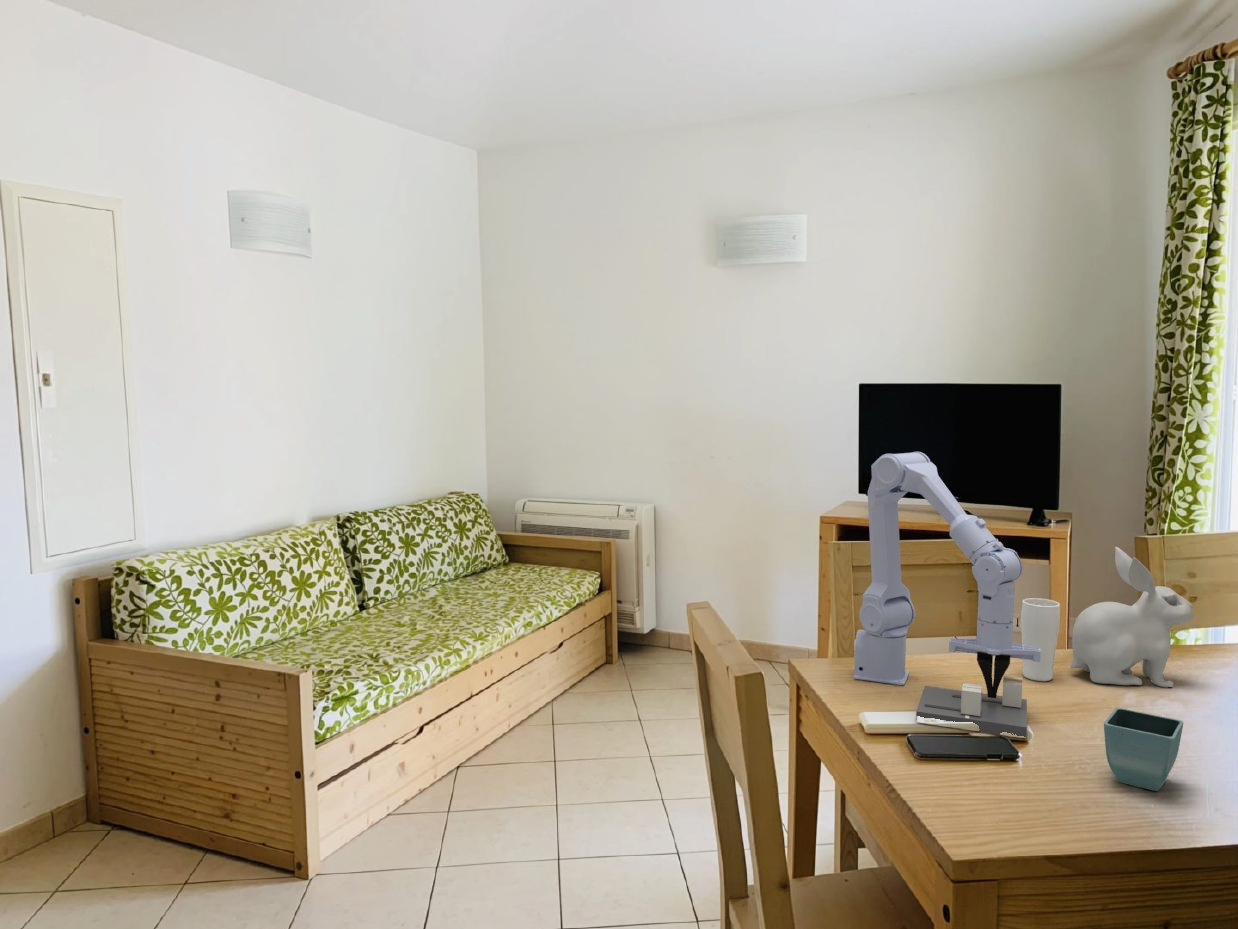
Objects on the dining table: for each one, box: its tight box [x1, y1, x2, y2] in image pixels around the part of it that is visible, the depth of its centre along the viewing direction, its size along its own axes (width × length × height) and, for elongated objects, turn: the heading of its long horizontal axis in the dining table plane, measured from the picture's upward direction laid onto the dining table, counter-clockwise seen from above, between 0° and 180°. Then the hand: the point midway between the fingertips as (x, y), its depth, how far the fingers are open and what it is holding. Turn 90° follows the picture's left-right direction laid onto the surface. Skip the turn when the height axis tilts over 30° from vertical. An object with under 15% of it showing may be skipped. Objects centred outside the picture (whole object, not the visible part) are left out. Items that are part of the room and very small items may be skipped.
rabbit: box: [1070, 546, 1194, 688], centre depth 173 cm, size 12×21×25 cm, turn 77°
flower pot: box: [1103, 707, 1184, 792], centre depth 130 cm, size 9×9×9 cm
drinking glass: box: [1020, 597, 1061, 682], centre depth 175 cm, size 7×7×15 cm
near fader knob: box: [961, 682, 983, 716], centre depth 152 cm, size 3×4×4 cm
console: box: [915, 685, 1028, 738], centre depth 155 cm, size 17×14×2 cm
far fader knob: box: [1001, 675, 1023, 708], centre depth 156 cm, size 3×4×4 cm
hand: (992, 696), depth 157 cm, fingers closed
